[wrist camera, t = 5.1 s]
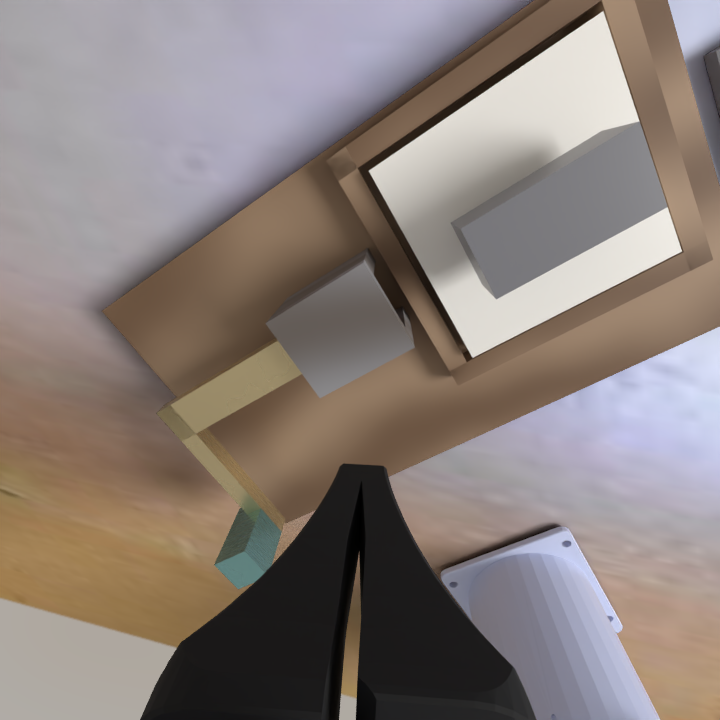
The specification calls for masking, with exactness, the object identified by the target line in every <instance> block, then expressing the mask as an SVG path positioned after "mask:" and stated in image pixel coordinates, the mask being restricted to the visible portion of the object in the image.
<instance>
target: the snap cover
mask: <svg viewBox="0 0 720 720" xmlns="http://www.w3.org/2000/svg"><path fill="white" fill-rule="evenodd" d="M369 172H370V174H371V176H372V178H373V180H374V181H375V183H376V185H377V187H378V189H379V190H380V192H381V194H382V196H383V198H384V199H385V201H386V203H387V205H388V207H389V208H390V210H391V212H392V214H393V216H394V217H395V219H396V221H397V223H398V225H399V226H400V228H401V230H402V232H403V234H404V235H405V237H406V239H407V241H408V243H409V244H410V246H411V248H412V250H413V252H414V253H415V255H416V257H417V259H418V261H419V262H420V264H421V266H422V268H423V270H424V271H425V273H426V275H427V277H428V279H429V280H430V282H431V284H432V286H433V288H434V289H435V291H436V293H437V295H438V297H439V298H440V300H441V302H442V304H443V306H444V307H445V309H446V311H447V313H448V315H449V316H450V318H451V320H452V322H453V324H454V325H455V327H456V329H457V331H458V333H459V334H460V336H461V338H462V340H463V341H464V343H465V345H466V347H467V349H468V350H469V352H470V354H471V356H472V358H473V357H475V356H477V355H479V354H481V353H483V352H485V351H487V350H489V349H491V348H493V347H495V346H497V345H499V344H501V343H503V342H505V341H507V340H509V339H511V338H513V337H515V336H517V335H518V334H520V333H522V332H524V331H526V330H528V329H530V328H532V327H534V326H536V325H538V324H540V323H542V322H544V321H546V320H548V319H550V318H552V317H554V316H556V315H558V314H560V313H562V312H564V311H566V310H568V309H570V308H572V307H574V306H576V305H578V304H579V303H581V302H583V301H585V300H587V299H589V298H591V297H593V296H595V295H597V294H599V293H601V292H603V291H605V290H607V289H609V288H611V287H613V286H615V285H617V284H619V283H621V282H623V281H625V280H627V279H629V278H631V277H633V276H635V275H637V274H639V273H641V272H642V271H644V270H646V269H648V268H650V267H652V266H654V265H656V264H658V263H660V262H662V261H664V260H666V259H668V258H670V257H672V256H674V255H676V254H678V253H680V252H682V250H681V247H680V244H679V241H678V238H677V235H676V231H675V228H674V225H673V222H672V219H671V216H670V213H669V210H668V206H667V203H666V200H665V197H664V194H663V191H662V188H661V185H660V182H659V179H658V176H657V173H656V169H655V166H654V163H653V160H652V157H651V154H650V151H649V148H648V145H647V142H646V139H645V136H644V133H643V130H642V127H641V124H640V121H639V119H638V115H637V112H636V109H635V106H634V103H633V100H632V97H631V94H630V91H629V88H628V85H627V82H626V79H625V76H624V73H623V70H622V67H621V64H620V61H619V57H618V54H617V51H616V48H615V45H614V42H613V39H612V36H611V33H610V30H609V27H608V24H607V21H606V18H605V15H604V12H601V13H600V14H598V15H597V16H595V17H594V18H592V19H591V20H589V21H588V22H586V23H585V24H583V25H582V26H581V27H579V28H578V29H576V30H575V31H573V32H572V33H570V34H569V35H567V36H566V37H564V38H563V39H561V40H560V41H559V42H557V43H556V44H554V45H553V46H551V47H550V48H548V49H547V50H545V51H544V52H542V53H541V54H539V55H538V56H536V57H535V58H534V59H532V60H531V61H529V62H528V63H526V64H525V65H523V66H522V67H520V68H519V69H517V70H516V71H514V72H513V73H512V74H510V75H509V76H507V77H506V78H504V79H503V80H501V81H500V82H498V83H497V84H495V85H494V86H492V87H491V88H490V89H488V90H487V91H485V92H484V93H482V94H481V95H479V96H478V97H476V98H475V99H473V100H472V101H470V102H469V103H468V104H466V105H465V106H463V107H462V108H460V109H459V110H457V111H456V112H454V113H453V114H451V115H450V116H448V117H447V118H445V119H444V120H443V121H441V122H440V123H438V124H437V125H435V126H434V127H432V128H431V129H429V130H428V131H426V132H425V133H423V134H422V135H421V136H419V137H418V138H416V139H415V140H413V141H412V142H410V143H409V144H407V145H406V146H404V147H403V148H401V149H400V150H399V151H397V152H396V153H394V154H393V155H391V156H390V157H388V158H387V159H385V160H384V161H382V162H381V163H379V164H378V165H377V166H375V167H374V168H372V169H371V170H369Z"/></svg>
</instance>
